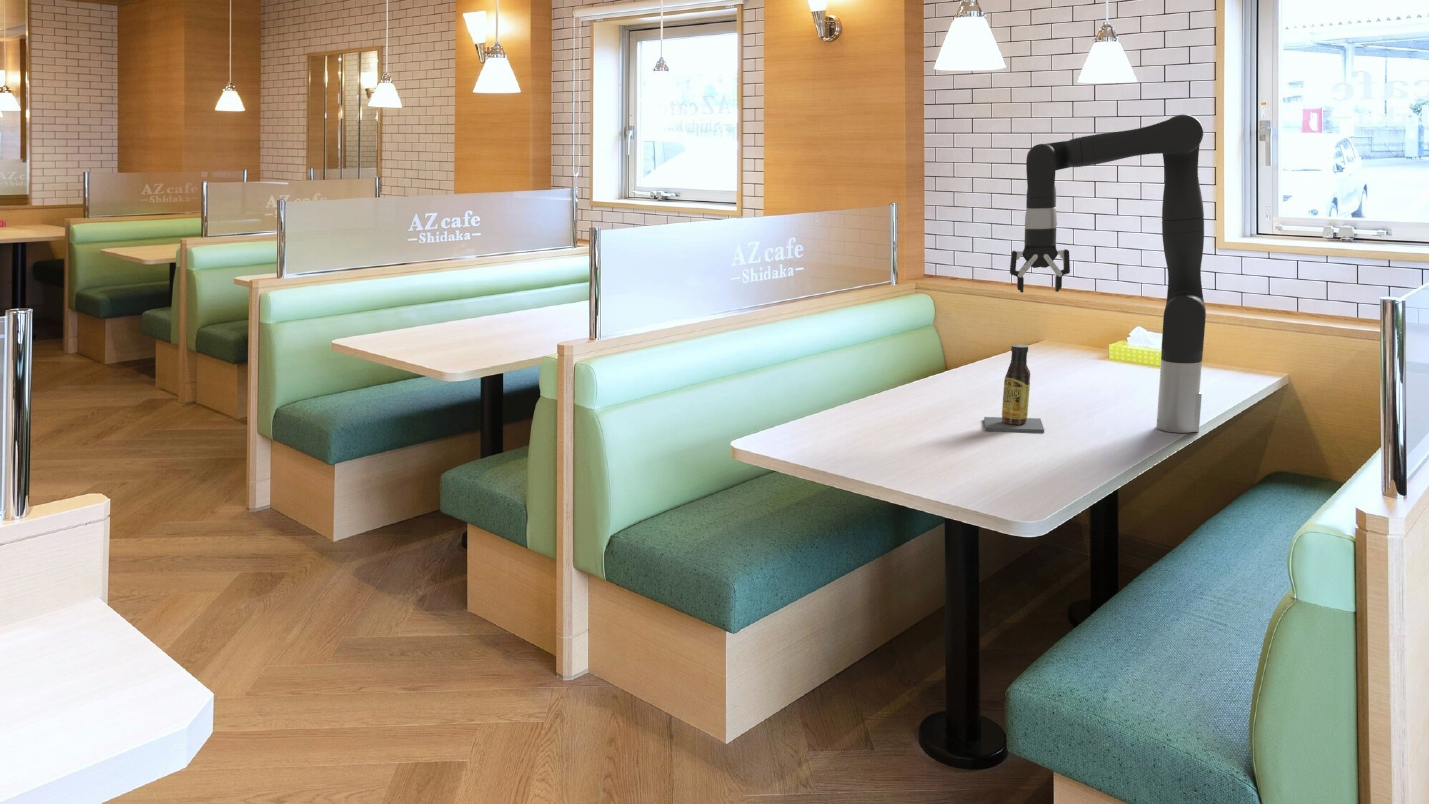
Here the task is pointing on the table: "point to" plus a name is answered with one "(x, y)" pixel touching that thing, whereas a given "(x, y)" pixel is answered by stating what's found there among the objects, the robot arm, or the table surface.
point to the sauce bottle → (1016, 387)
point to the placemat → (999, 425)
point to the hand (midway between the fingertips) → (1039, 291)
